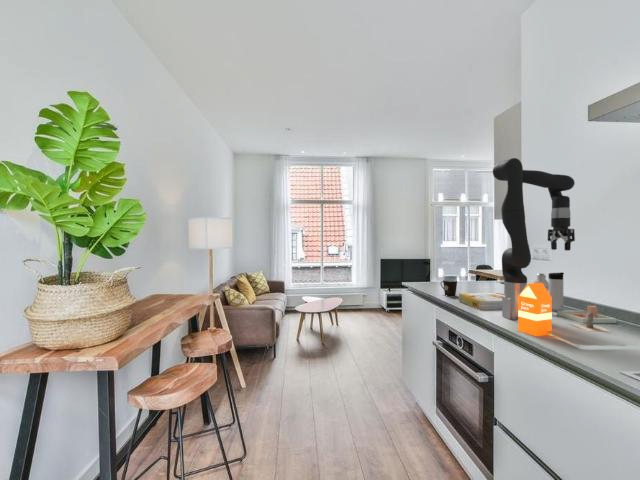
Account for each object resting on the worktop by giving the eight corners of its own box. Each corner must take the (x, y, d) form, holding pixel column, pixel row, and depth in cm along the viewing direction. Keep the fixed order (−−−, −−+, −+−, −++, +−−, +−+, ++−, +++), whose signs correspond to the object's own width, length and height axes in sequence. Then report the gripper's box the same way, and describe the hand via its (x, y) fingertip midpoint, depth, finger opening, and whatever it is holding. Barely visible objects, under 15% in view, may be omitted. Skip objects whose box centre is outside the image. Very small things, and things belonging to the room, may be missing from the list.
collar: (580, 321, 137) (580, 308, 137) (567, 317, 144) (567, 304, 144) (602, 321, 137) (602, 308, 137) (588, 317, 144) (588, 304, 144)
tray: (582, 325, 133) (582, 318, 133) (556, 316, 148) (556, 310, 148) (616, 325, 133) (616, 318, 133) (587, 316, 148) (587, 310, 148)
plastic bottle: (550, 313, 155) (550, 273, 155) (548, 315, 150) (548, 275, 150) (534, 311, 159) (534, 272, 159) (532, 313, 154) (532, 274, 154)
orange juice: (517, 330, 127) (518, 282, 127) (532, 328, 130) (532, 281, 130) (537, 336, 119) (537, 285, 119) (552, 333, 123) (552, 283, 122)
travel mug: (566, 312, 157) (566, 273, 157) (552, 311, 158) (552, 273, 158) (559, 309, 163) (559, 271, 163) (545, 308, 164) (545, 271, 164)
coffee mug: (459, 296, 198) (459, 281, 198) (446, 297, 198) (446, 281, 198) (452, 293, 209) (452, 279, 209) (439, 293, 210) (439, 279, 209)
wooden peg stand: (588, 334, 122) (588, 316, 122) (567, 326, 132) (568, 310, 132) (613, 334, 122) (613, 316, 121) (591, 326, 132) (591, 310, 131)
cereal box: (458, 292, 183) (502, 291, 186) (458, 302, 184) (502, 300, 186) (478, 300, 163) (527, 299, 166) (478, 310, 163) (527, 309, 166)
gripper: (542, 218, 159) (542, 249, 159) (564, 216, 145) (564, 250, 145) (557, 218, 159) (557, 249, 159) (580, 216, 145) (580, 250, 145)
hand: (560, 250), depth 152 cm, fingers open, 8 cm apart
